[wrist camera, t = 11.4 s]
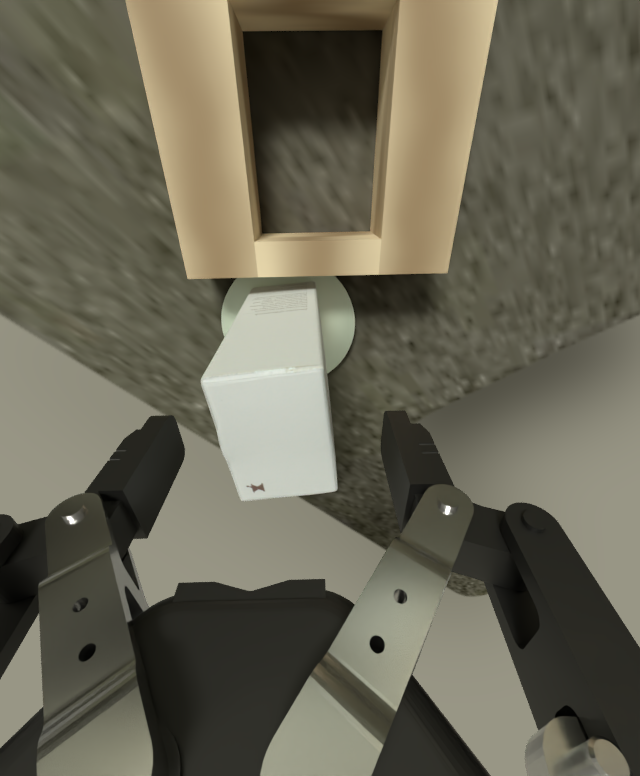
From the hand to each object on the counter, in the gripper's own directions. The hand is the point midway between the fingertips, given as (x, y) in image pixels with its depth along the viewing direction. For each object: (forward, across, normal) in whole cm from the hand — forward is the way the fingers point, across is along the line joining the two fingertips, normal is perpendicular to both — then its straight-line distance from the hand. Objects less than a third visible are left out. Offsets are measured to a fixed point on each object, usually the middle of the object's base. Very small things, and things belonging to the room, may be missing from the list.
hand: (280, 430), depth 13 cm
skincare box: (+11, 0, 0) cm, 11 cm away
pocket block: (+12, -2, -10) cm, 15 cm away
